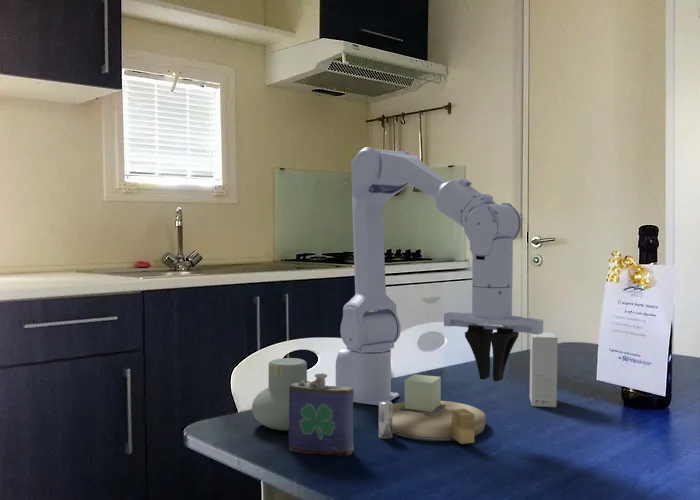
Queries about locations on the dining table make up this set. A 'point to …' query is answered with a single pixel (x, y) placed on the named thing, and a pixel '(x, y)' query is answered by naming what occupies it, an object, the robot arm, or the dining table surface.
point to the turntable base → (387, 432)
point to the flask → (320, 418)
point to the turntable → (439, 421)
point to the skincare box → (543, 370)
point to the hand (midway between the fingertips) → (491, 379)
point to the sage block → (422, 392)
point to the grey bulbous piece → (278, 392)
